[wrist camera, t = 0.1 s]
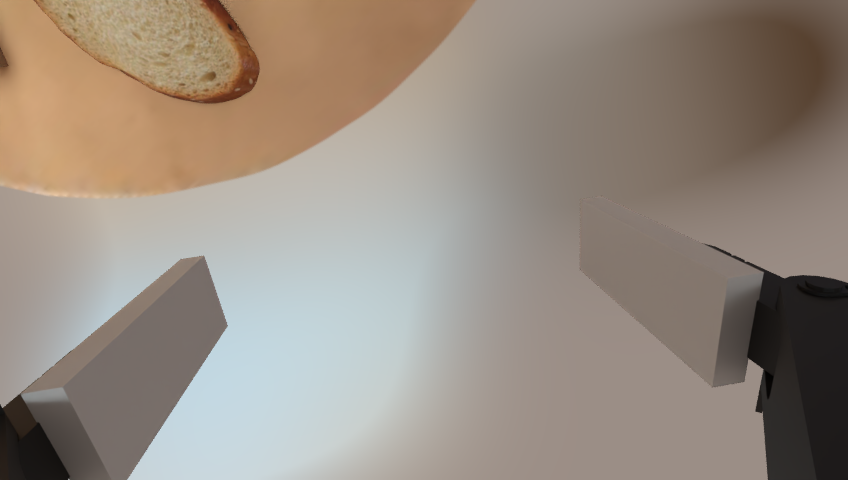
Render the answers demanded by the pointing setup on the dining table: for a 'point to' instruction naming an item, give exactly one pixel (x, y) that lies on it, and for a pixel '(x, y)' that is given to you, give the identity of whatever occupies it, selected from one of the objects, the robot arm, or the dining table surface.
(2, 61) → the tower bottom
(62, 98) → the dining table surface
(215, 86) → the slice of bread
